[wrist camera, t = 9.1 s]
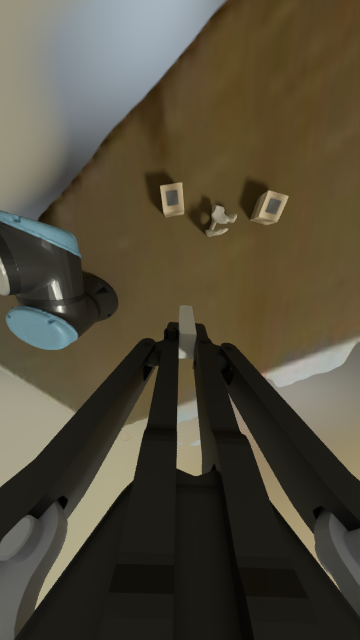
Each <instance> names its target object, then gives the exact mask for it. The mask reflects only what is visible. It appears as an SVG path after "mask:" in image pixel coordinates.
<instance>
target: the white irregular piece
mask: <svg viewBox="0 0 360 640" xmlns="http://www.w3.org/2000/svg"><path fill="white" fill-rule="evenodd" d="M211 217H212V223H211V226H210V228H209V230H206V231H205V233H206V235H207V236H208V237H211V236H215V235H221V234H223V233H225V232H226V231H227V230H228V228H225V229H222V230H216V231H215V230H213V229H214V227H215V225H216V223H219V224H224V223H225V224H226V223H227V222H229V223H233V222H234V221H235V219H236V218H237V214H233V213H232V214H230V215H229V216H226V215H225V214H224V208H223V207H221V206H217V205H216V204H215V205H214V206H212V213H211Z"/></svg>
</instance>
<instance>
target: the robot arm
mask: <svg viewBox="0 0 360 640" xmlns="http://www.w3.org/2000/svg"><path fill="white" fill-rule="evenodd" d="M80 258H81V255H80V253H79V248H78V242H77V239H76V238H75V236H74V235H73V234H72V233H70V232H68V231H66V230H63V229H61V228H58V227H55V226H51V225H48V224H45V223H42V222H38V221H35V220H32V219H28V218H25V217H20V216H17V215H14V214H10V213H7V212H4V211H0V295H14V294H15V296H16V298H17V301H18V304H19V306H17V307H14V308H12V309H11V310H10V311H9V312H8V314H7V315H6V323H7V325H8V327H9V328H10V330H11V331H12V332H13V333H14V334H15V335H16V336H18V337H19V338H20V339H22V340H23V341H25V342H27V343H28V344H30V345H33V346H35V347H38V348H42V349H47V350H58V349H62V348H64V347H66V346H68V345H69V344H70V343H72V342H74V341H76V340H77V339H78V338H79V337H80V336H81V335H82V334H83V333H84V332H85V331H86V330H88V329H89V328H90V327H91V326H92V325H93V324H94V323H95V322H98V321H101V320H105V319H107V318H109V317H111V316H112V315H113V314H114V313H115V312H116V310H117V307H118V298H117V295H116V293H115V291H114V290H113V288H112V287H111V286H110V285H109V284H108V283H106V282H105V281H103V280H102V279H99V278H96V277H84V278H83V274H82V266H81V259H80ZM193 356H194V362H193V368H192V369H194V376H195V386H196V397H197V407H198V418H199V428H200V438H201V450H202V475H199V476H193V475H191V474H188V473H186V472H184V471H181V470H179V469H177V468H176V458H177V400H178V364H179V358H185V359H193ZM158 365H159V367H158V372H157V377H156V382H155V387H154V392H153V397H152V402H151V407H150V413H149V418H148V423H147V427H146V429H145V431H144V434H143V438H142V443H141V447H140V452H139V457H138V461H137V466H136V471H135V476H134V480H133V481H132V482H131V483H130V484H129V485H128V486H127V487H126V488H125V489H124V490H123V491H122V492H121V494H120V495H119V496H118V498H117V499H116V500H115V502H114V503H113V504H112V506H111V507H110V508H109V510H108V511H107V513H106V514H105V515H104V517H103V518H102V519H101V521H100V522H99V523H98V525H97V526H96V528H95V529H94V530H93V532H92V533H91V535H90V536H89V537H88V538H87V540H86V541H85V543H84V544H83V545H82V547H81V548H80V549H79V551H78V552H77V554H76V555H75V556H74V558H73V559H72V561H71V562H70V563H69V565H68V566H67V567H66V569H65V570H64V571H63V573H62V574H61V576H60V577H59V578H58V580H57V581H56V582H55V584H54V585H53V587H52V588H51V589H50V591H49V592H48V593H47V595H46V596H45V598H44V599H43V600H42V602H41V603H40V604H39V606H38V607H37V608H36V610H35V605H36V602H37V599H38V595H39V592H40V590H41V587H42V585H43V583H44V580H45V578H46V576H47V574H48V573H49V571H50V569H51V567H52V565H53V564H54V562H55V560H56V559H57V557H58V555H59V553H60V551H61V549H62V546H63V544H64V542H65V538H66V534H67V525H68V522H67V519H68V517H69V516H70V515H71V513H72V512H73V510H74V509H75V508H76V506H77V505H78V503H79V502H80V500H81V499H82V497H83V496H84V494H85V493H86V491H87V489H88V487H89V486H90V484H91V483H92V481H93V479H94V478H95V476H96V474H97V472H98V470H99V468H100V467H101V465H102V463H103V461H104V459H105V458H106V456H107V454H108V452H109V450H110V449H111V447H112V445H113V443H114V441H115V440H116V438H117V436H118V434H119V432H120V431H121V429H122V427H123V425H124V423H125V422H126V420H127V418H128V416H129V414H130V412H131V411H132V409H133V407H134V405H135V403H136V402H137V400H138V398H139V396H140V394H141V393H142V391H143V389H144V387H145V385H146V384H147V382H148V380H149V378H150V376H151V375H152V373H153V371H154V369H155V367H156V366H158ZM228 394H229V395H230V397H231V399H232V401H233V402H234V404H235V405H236V407H237V409H238V411H239V413H240V415H241V416H242V418H243V420H244V422H245V423H246V425H247V427H248V429H249V430H250V432H251V434H252V436H253V437H254V439H255V441H256V443H257V444H258V446H259V448H260V450H261V451H262V453H263V455H264V457H265V458H266V460H267V462H268V463H269V465H270V467H271V469H272V470H273V472H274V474H275V476H276V477H277V479H278V481H279V483H280V485H281V486H282V488H283V490H284V491H285V493H286V495H287V496H288V498H289V500H290V501H291V503H292V504H293V506H294V507H295V509H296V510H297V512H298V513H299V515H300V516H301V518H302V519H303V520H304V522H305V523H306V525H307V526H308V527H309V528H310V530H311V531H312V533H313V534H314V538H315V542H316V543H315V551H316V554H317V557H318V559H319V561H320V563H321V565H322V566H323V567H324V569H325V570H326V571H327V572H328V573H329V574H331V575H332V577H333V579H334V580H335V581H336V583H337V585H338V587H339V589H340V590H339V589H338V588H337V586H336V585H335V584H334V583H333V581H332V580H331V579H330V577H329V576H328V575H327V574H326V572H325V571H324V570H323V568H322V567H321V566H320V565H319V563H318V562H317V561H316V559H315V558H314V557H313V556H312V554H311V553H310V552H309V550H308V549H307V548H306V547H305V545H304V544H303V543H302V541H301V540H300V539H299V537H298V536H297V535H296V534H295V532H294V531H293V530H292V528H291V527H290V526H289V525H288V523H287V522H286V521H285V519H284V518H283V517H282V515H281V514H280V513H279V512H278V510H277V509H276V508H275V506H274V505H273V504H272V503H271V501H270V500H269V497H268V494H267V491H266V489H265V486H264V483H263V480H262V477H261V474H260V471H259V468H258V465H257V462H256V460H255V457H254V454H253V451H252V448H251V445H250V443H249V441H248V439H247V437H246V436H245V435H244V434H242V433H241V432H240V430H239V427H238V424H237V421H236V417H235V414H234V411H233V408H232V405H231V401H230V398H229V395H228ZM340 591H341V592H340ZM34 610H35V611H34ZM0 640H360V481H359V480H358V479H357V478H356V477H355V476H353V475H352V474H351V473H350V472H349V471H348V470H347V468H346V467H345V466H344V465H343V464H342V463H341V462H340V461H339V460H338V459H337V457H336V456H335V455H334V454H333V453H332V452H331V451H330V450H329V449H328V448H327V446H326V445H325V444H324V443H323V442H322V441H321V440H320V439H319V438H318V437H317V435H316V434H314V432H313V431H312V430H311V429H310V428H309V427H308V426H307V424H306V423H305V422H304V421H303V420H302V419H301V418H300V417H299V416H298V415H297V413H296V412H295V411H294V410H293V409H292V408H291V407H290V406H289V405H288V404H287V403H286V401H285V400H284V399H283V398H282V397H281V396H280V395H279V394H278V393H277V391H275V389H274V388H273V387H272V386H271V385H270V384H269V383H268V382H267V380H266V379H265V378H264V377H263V376H262V375H261V374H260V373H259V372H258V371H257V369H256V368H255V367H254V366H253V365H252V364H251V363H250V362H249V361H248V360H247V358H246V357H245V356H244V355H243V354H242V353H241V352H240V351H239V350H238V349H237V347H236V346H234V345H233V344H230V343H222V344H221V346H218V345H215V344H213V343H212V341H211V340H210V339H209V338H208V336H207V332H206V329H205V326H204V325H203V324H198V323H195V322H194V316H193V310H192V306H185V305H180V312H179V323H178V322H170V323H168V325H167V328H166V329H165V330H164V340H162V341H159V342H155V341H154V340H153V339H151V338H145V339H142V340H141V341H140V342H139V343H138V344H137V345H136V346H135V347H134V348H133V349H132V351H131V352H130V353H129V354H128V355H127V356H126V357H125V358H124V360H123V361H122V362H121V363H120V364H119V365H118V366H117V367H116V369H115V370H114V371H113V372H112V373H111V374H110V375H109V376H108V378H107V379H106V380H105V381H104V382H103V383H102V384H101V385H100V387H99V388H98V389H97V390H96V391H95V392H94V393H93V394H92V395H91V397H90V398H89V399H88V400H87V401H86V402H85V403H84V404H83V406H82V407H81V408H80V409H79V410H78V411H77V412H76V413H75V415H74V416H73V417H72V418H71V419H70V420H69V421H68V422H67V424H66V425H65V426H64V427H63V428H62V429H61V430H60V431H59V433H58V434H57V435H56V436H55V437H54V438H53V439H52V440H51V442H50V443H49V444H48V445H47V446H46V447H45V448H44V450H43V451H42V452H41V453H40V454H39V455H38V456H37V457H36V459H34V460H33V461H32V462H31V463H30V464H28V465H27V466H26V467H25V468H23V469H22V470H21V471H20V472H18V473H17V474H16V475H15V476H14V477H12V478H11V479H10V480H9V481H7V482H6V483H5V484H4V485H2V486H1V487H0Z"/></svg>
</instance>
